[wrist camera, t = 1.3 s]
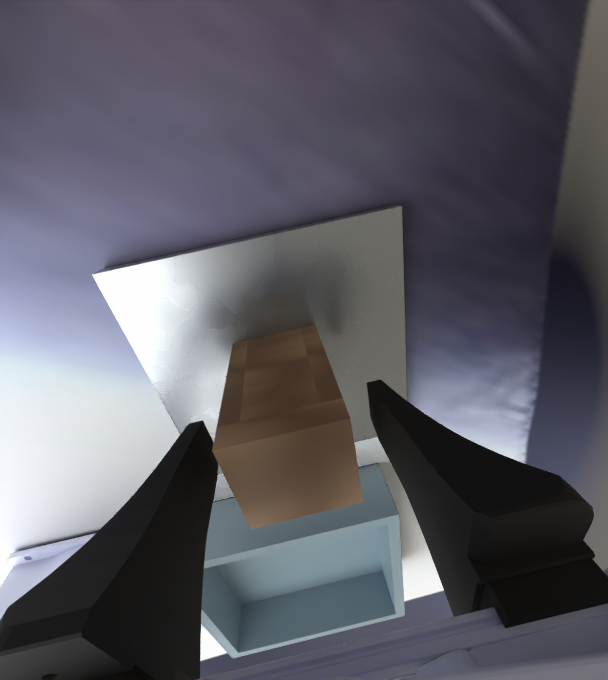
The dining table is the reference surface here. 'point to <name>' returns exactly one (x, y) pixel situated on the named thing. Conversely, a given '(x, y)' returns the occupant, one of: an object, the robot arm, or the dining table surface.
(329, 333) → the stud base
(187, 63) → the dining table surface
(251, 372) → the brown wooden block
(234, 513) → the bin
